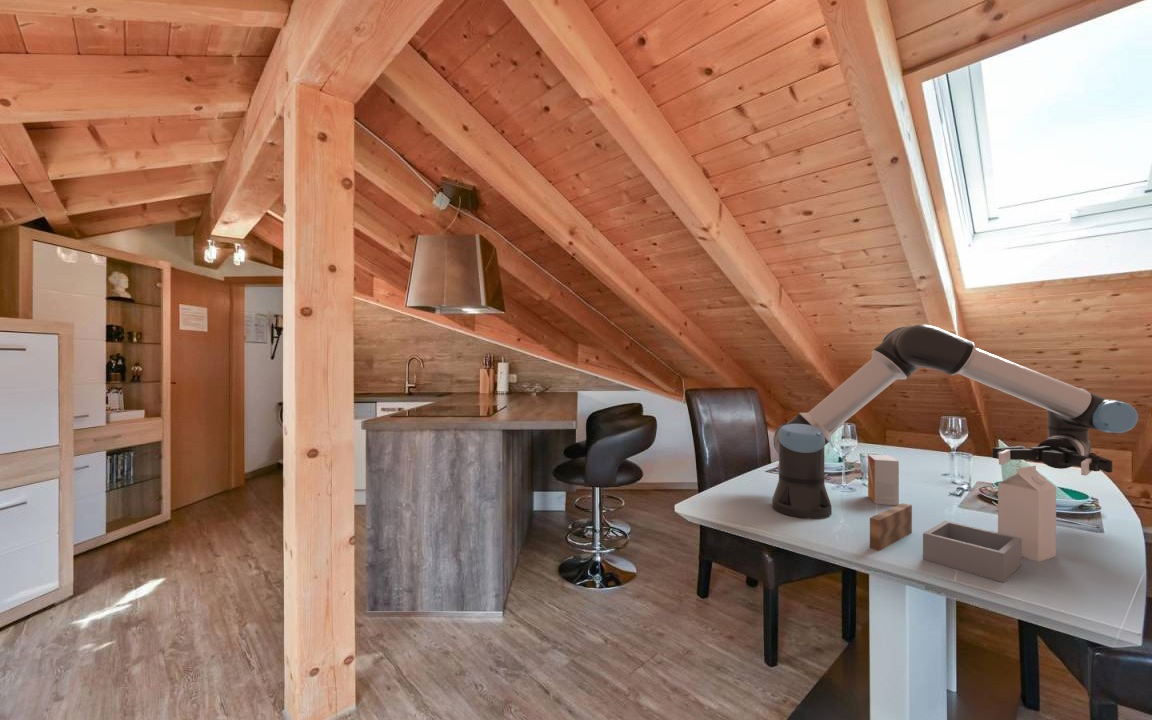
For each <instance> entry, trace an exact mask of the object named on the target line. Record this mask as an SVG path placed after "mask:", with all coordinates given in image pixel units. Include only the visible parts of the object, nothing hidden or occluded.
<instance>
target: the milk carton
mask: <svg viewBox="0 0 1152 720" xmlns="http://www.w3.org/2000/svg"><path fill="white" fill-rule="evenodd" d="M1036 467H1037V466H1036V465H1030V466H1024V467H1018V468H1017V469H1016V474H1014V475H1012V476H1010V477H1008V478H1005V479H1003V480H1002V481H1000V482H998V483H997V533H1001V534H1005V535H1010V536H1014V537H1019V538H1022V558H1025V559H1028V560H1031V561H1035V562H1038V563H1039V562H1043V561H1045V560H1049V559H1051V558H1055V557H1057V488H1056V486H1055V485H1054V484H1052V482H1051V481H1049V480H1048V479H1047V477H1045V476H1044V475H1042V474H1040V473H1039V472H1038V471H1037V470H1036V469H1037V468H1036Z"/></svg>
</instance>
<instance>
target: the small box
mask: <svg viewBox="0 0 1152 720" xmlns="http://www.w3.org/2000/svg"><path fill="white" fill-rule="evenodd" d="M867 461H868V462H867V463H868V464H867V466H868V467H867V475H868V477H867V479H868V480H867V495H868V497H869V498H870V499H871V501H872V502H873V503H874V505H875V504H878V505H888V506H897V505H900V494H899V493H900V490H899V489H900V488H899V487H900V479H899V478H900V477H899V476H900V475H899V474H900V469H899V468H900V467H899V466H900V464H899V463H900V462H899V460H898V459H896V458H895V457H893V456H892V455H887V454H885V455H884V454H883V455H882V454H868V455H867Z"/></svg>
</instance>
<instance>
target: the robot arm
mask: <svg viewBox="0 0 1152 720" xmlns="http://www.w3.org/2000/svg"><path fill="white" fill-rule="evenodd" d="M920 368H925V369H930V370H936V371H938V372H942V373H945V374H948V375H950V376H955V375H960V376H962V377H965V378H968V379H970V380H972V381H975V382H978V383H980V384H983V385H985V386H987V387H990V388H992V389H995V390H998V391H1000V392H1003V393H1005V394H1008V395H1010V396H1013V397H1016V398H1017V399H1020V400H1022V401H1024V402H1028V403H1030V404H1032V405H1034V406H1037V407H1040V408H1042V409H1045V410H1046V411H1047V439H1044V440H1042V441H1041V442H1040V443H1038V445H1037V446H1030V447H1029V448H1026V447H1025V446H1024V445H1022V444H1020V445H1016V446H1015V445H1014V446H999V447H991V450H992V451H991V452H992V455H991V456H992V459H996V460H998V465H1001V466H1003V465H1005V464H1007V463H1010V462H1011V460H1013V461H1014V460H1015V461H1018V460H1019V461H1025V460H1027V461H1030V462H1035V463H1036V462H1037V463H1040V462H1041V463H1042V464H1044V465H1046V466H1048V467H1050V468H1053V469H1057V470H1063V469H1068V468H1071V467H1078V468H1079V467H1080V475H1081V476H1084V477H1085V476H1088V475H1089V474H1090V473H1091V472H1101V471H1103V472H1105V473H1113V460H1110V459H1108V458H1105V457H1103V456H1100V455H1097V454H1096V453H1094V452H1091V451H1092V443H1091V440H1089V429H1090V430H1091V429H1092V430H1096V431H1100V432H1103V433H1107V434H1108V433H1112V434H1122V433H1127V432H1129V431H1131V430H1133V428H1135V427H1136V425H1137V424H1138V421H1139V415H1138V412H1137V410H1136V409H1135V408H1134V406H1132V405H1131V404H1129V403H1127V402H1125V401H1120V400H1117V399H1108V398H1106V397H1103V396H1100V395H1098V394H1095V393H1092V392H1090V391H1087V389H1085V388H1080V387H1077V386H1074V385H1072V384H1070V383H1066V382H1065V381H1062V380H1059V379H1057V378H1054V377H1051V376H1049V375H1046V374H1044V373H1041V372H1038V371H1036V370H1034V369H1031V368H1028V367H1026V366H1024V365H1021V364H1018V363H1016V362H1013V361H1011V360H1008V359H1005V358H1003V357H1001V356H998V355H996V354H993V353H990V352H987V351H986V350H982V349H980V348H977V347H976V345H975V342H973V341H971V340H969V339H966V338H963V337H961V336H959V335H957V334H955V333H952V332H949V331H947V330H944V329H942V328H940V327H938V326H935V325H934V326H933V325H931V324H923V323H922V324H915V325H911V326H910V325H908V326H907V325H906V326H901V327H897V328H895V329H893V330H892V331H890V332H888V333H887V334H886V335H885V336H884V338H883V340H882V341H881V343H880V344H879V345H877V346H876V347H875V348H874V349H873V350H872V351H871V359H869V360H868V361H867V362H865V364H863V366H861V367H860V368H859V369H858V370H856V371H855V372H854V373H853V374H852V375H851V376H850V377H848V378H847V379H846V380H845V381H844V382H842V383H841V384H840V385H839V386H838V387H836V388H835V389H834V390H833V391H832V392H830V393H829V394H828V395H827V396H826V397H825V398H824V399H822V400H821V401H820V402H818V404H816V405H815V406H814V407H813V408H811V410H809V411H808V412H799V413H798V414H796V415H795V416H794V417H793V418H792V419H790V421H787V422H784V423H782V424H781V425H780V426H778V428H777V429H776V430H775V432H774V436H773V439H772V440H773V447H774V449H775V451H776V453H777V454H778V482H777V485H776V487H775V491H774V493H773V496H772V501H771V502H772V503H771V507H772V509H774V510H775V511H776V512H778V513H780V514H784V515H786V516H787V515H788V516H790V517H796V518H801V519H823V518H828V517H830V516H832V514H833V513H832V509H833V507H832V503H831V499H830V497H829V495H828V491H827V489H826V486H825V485H826V484H825V446H826V445H827V444H828V443H830V442H831V439H830V438H831V434H832V433H833V432H834V431H836V430H837V429H838V428H839V427H841V426H842V425H843V424H844V423H845V422H846V421H848V420H849V419H850V418H852V416H854V415H855V414H856V413H857V412H859V411H860V410H861V409H862V408H864V407H865V406H866V405H867V404H868V403H870V402H871V401H872V400H874V399H875V398H876V397H877V396H878V395H879V394H881V393H882V392H883V391H884V390H885V389H887V388H888V387H889V386H890V385H891V384H892V383H894V382H896V381H898V380H907V379H908V378H909V377H910V376H911V375H913V374H914V373H915V372H917V371H918V370H919V369H920Z"/></svg>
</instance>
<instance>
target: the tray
mask: <svg viewBox="0 0 1152 720" xmlns="http://www.w3.org/2000/svg"><path fill="white" fill-rule="evenodd" d="M1022 558H1023V557H1022V538H1019V537H1014V536H1010V535H1005V534H1001V533H998V531H997V532H995V531H991V530H987V529H984V528H978V527H974V526H969V525H966V524H961V523H956V522H952V521H948V520H944V521H942V522H940V523H939V524H937V525H935V526H933V527H931V528H929V529H928V530H926V531H924V532H923V533H922V559H923V560H925V561H929V562H931V563H935V564H939V565H942V566H945V567H949V568H953V569H956V570H959V571H963V572H966V573H970V574H973V575H976V576H981V577H982V578H987V579H989V580H994V581H996V582H1000V583H1003V584H1004V583H1005V582H1006V581H1007V580H1009V578H1010V577H1011V576H1012V575H1013V574H1014V573H1015V572H1016V571H1017V570H1018V569H1019V568H1020V567H1021V566H1022V563H1023V562H1022V560H1023V559H1022Z"/></svg>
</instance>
